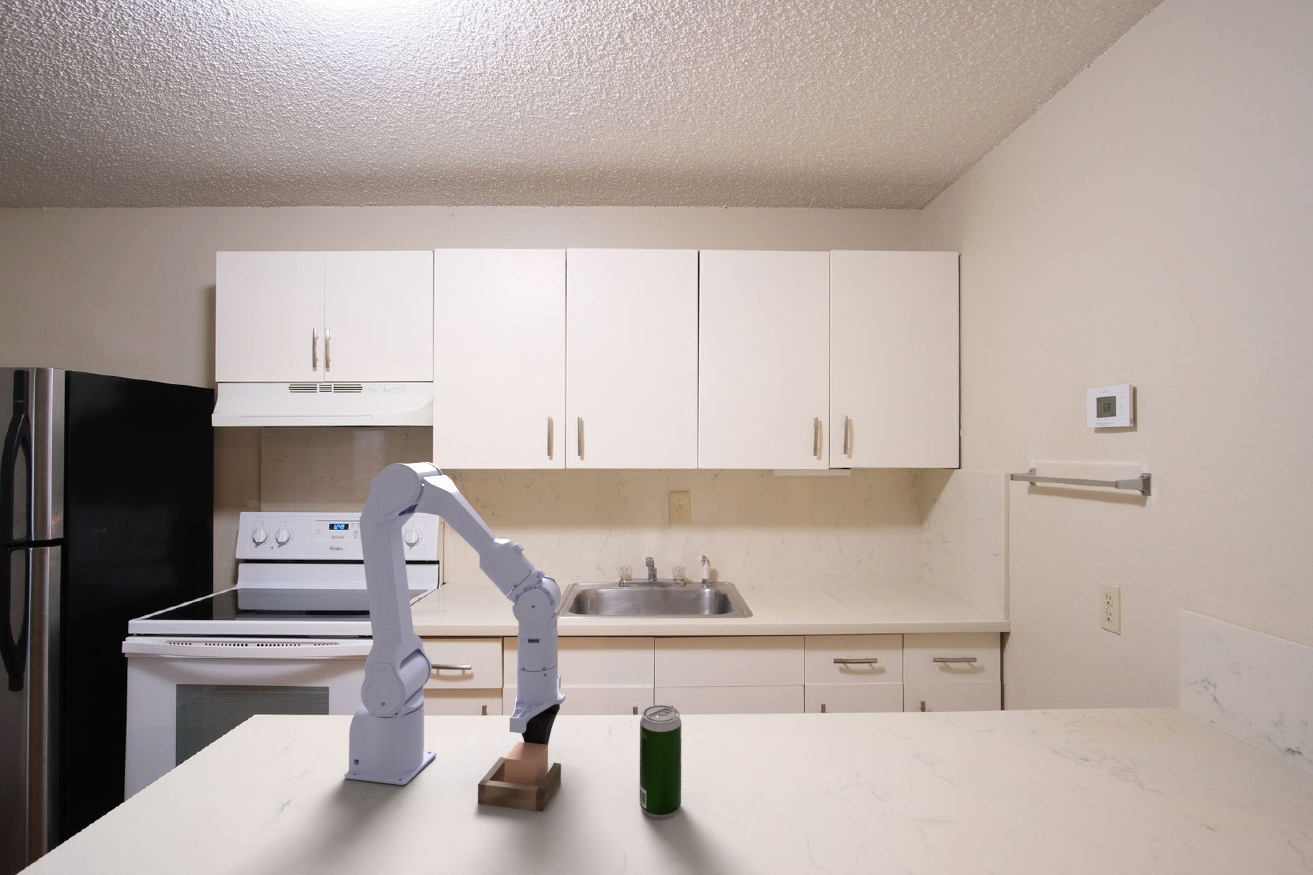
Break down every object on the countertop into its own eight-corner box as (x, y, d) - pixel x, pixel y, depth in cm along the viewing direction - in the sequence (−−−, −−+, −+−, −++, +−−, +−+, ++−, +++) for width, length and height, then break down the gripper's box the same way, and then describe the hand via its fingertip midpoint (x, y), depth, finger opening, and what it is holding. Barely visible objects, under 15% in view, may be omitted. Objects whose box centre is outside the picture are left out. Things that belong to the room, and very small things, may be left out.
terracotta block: (504, 791, 76) (504, 758, 76) (518, 772, 80) (518, 741, 80) (535, 795, 75) (535, 761, 75) (547, 776, 79) (547, 744, 79)
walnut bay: (477, 803, 73) (478, 783, 73) (500, 774, 79) (500, 756, 79) (543, 811, 71) (543, 791, 72) (560, 781, 78) (561, 763, 78)
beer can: (654, 826, 69) (654, 727, 69) (631, 803, 73) (632, 710, 73) (689, 811, 72) (689, 716, 72) (665, 789, 76) (666, 700, 76)
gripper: (545, 686, 73) (544, 791, 73) (579, 648, 88) (578, 736, 87) (495, 682, 75) (494, 786, 74) (536, 645, 89) (536, 731, 89)
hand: (536, 758), depth 81 cm, fingers closed
